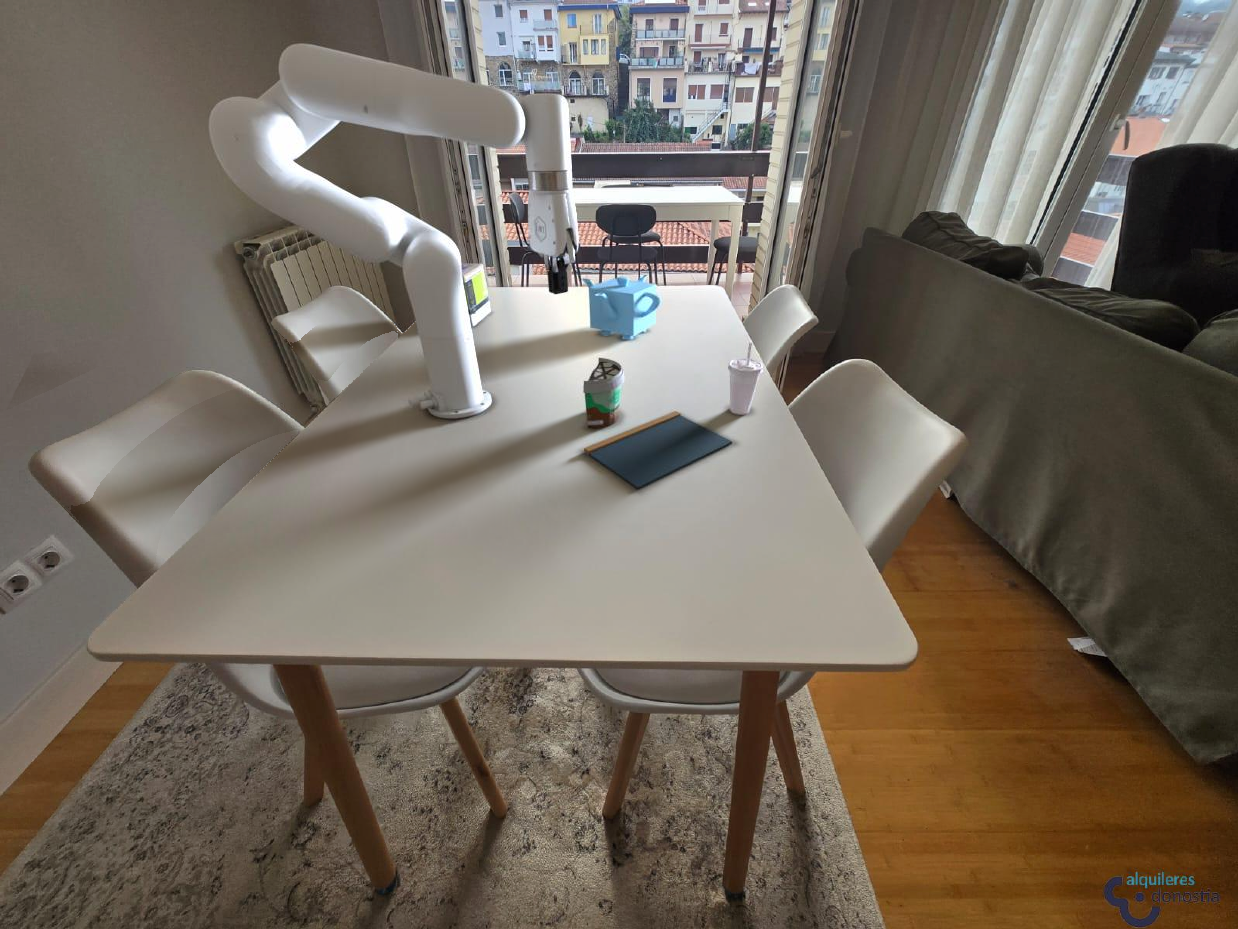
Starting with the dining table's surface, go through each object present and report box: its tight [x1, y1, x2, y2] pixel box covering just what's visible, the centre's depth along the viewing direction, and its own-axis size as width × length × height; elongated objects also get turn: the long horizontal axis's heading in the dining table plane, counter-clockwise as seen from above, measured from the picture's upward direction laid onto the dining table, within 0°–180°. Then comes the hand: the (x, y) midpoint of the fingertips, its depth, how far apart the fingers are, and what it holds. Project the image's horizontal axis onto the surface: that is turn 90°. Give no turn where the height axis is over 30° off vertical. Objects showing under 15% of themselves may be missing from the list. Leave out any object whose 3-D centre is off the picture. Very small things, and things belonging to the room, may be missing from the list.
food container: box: [582, 357, 626, 429], centre depth 96 cm, size 12×6×10 cm, turn 168°
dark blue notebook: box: [583, 410, 733, 490], centre depth 89 cm, size 22×14×1 cm, turn 129°
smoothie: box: [727, 342, 764, 416], centre depth 97 cm, size 6×6×14 cm
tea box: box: [461, 263, 492, 328], centre depth 149 cm, size 15×10×15 cm, turn 172°
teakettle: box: [581, 274, 662, 341], centre depth 137 cm, size 19×19×15 cm
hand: (558, 291), depth 97 cm, fingers closed
